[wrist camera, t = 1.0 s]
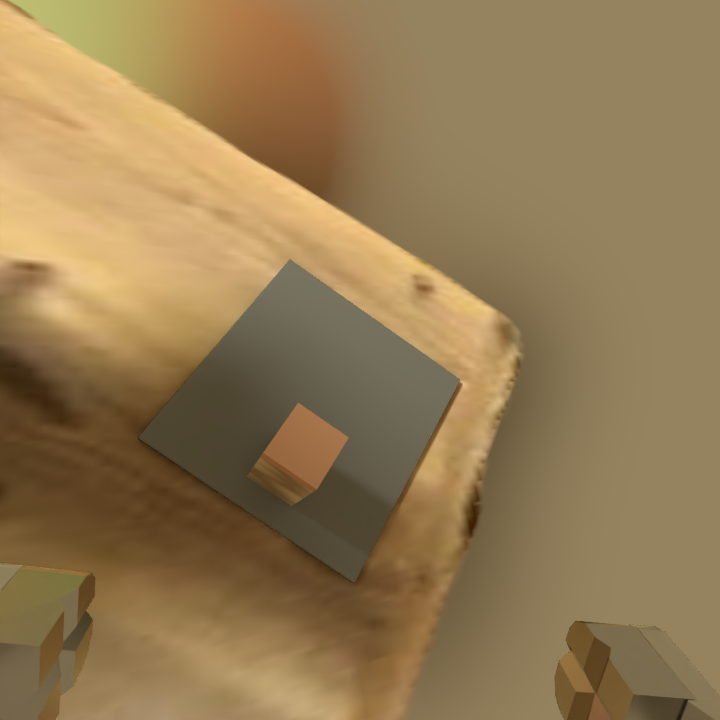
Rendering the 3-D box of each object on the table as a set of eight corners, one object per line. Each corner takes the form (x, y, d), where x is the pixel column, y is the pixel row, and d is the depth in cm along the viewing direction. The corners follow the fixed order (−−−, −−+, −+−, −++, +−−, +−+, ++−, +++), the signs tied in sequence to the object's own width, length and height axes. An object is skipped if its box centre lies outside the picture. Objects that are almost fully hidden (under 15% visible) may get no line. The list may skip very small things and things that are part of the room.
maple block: (246, 476, 40) (263, 453, 33) (276, 433, 41) (298, 402, 35) (290, 506, 40) (316, 489, 33) (318, 462, 42) (348, 437, 35)
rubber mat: (138, 438, 39) (138, 437, 38) (288, 262, 48) (289, 259, 48) (352, 582, 40) (354, 582, 39) (457, 381, 49) (460, 379, 49)
